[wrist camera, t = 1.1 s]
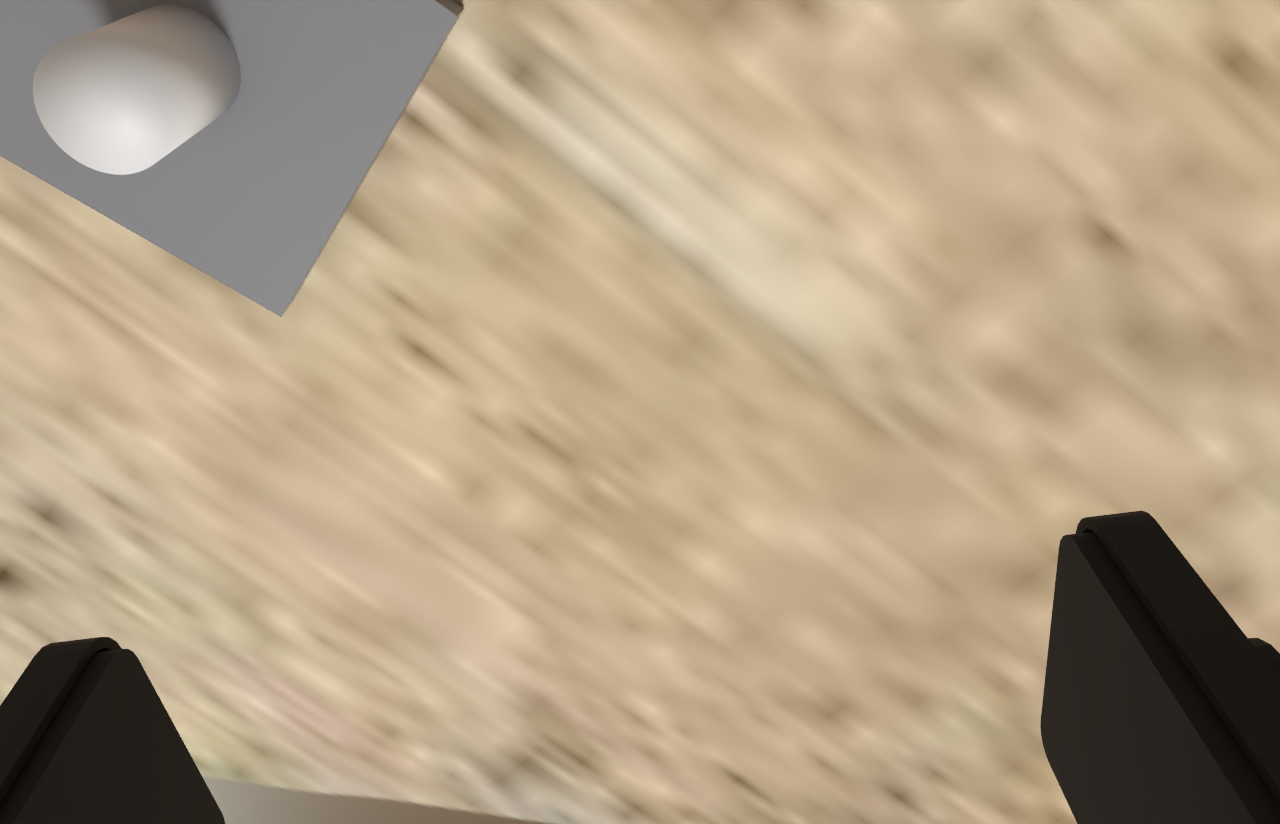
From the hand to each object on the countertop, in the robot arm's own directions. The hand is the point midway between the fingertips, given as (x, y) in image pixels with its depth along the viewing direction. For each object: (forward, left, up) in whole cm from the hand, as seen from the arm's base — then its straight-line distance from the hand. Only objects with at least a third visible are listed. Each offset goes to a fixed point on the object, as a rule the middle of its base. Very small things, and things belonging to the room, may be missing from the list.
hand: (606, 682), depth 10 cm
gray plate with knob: (+9, -13, -30) cm, 34 cm away
